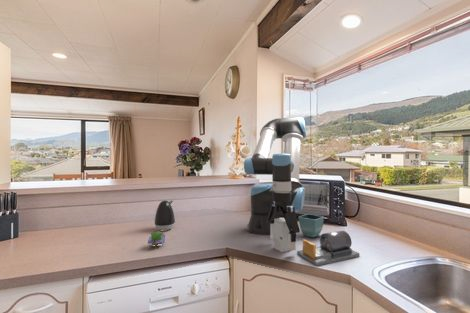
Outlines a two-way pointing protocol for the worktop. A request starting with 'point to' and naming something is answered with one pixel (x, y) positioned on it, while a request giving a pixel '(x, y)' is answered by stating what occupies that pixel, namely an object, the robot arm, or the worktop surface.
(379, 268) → the worktop surface
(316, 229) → the flower pot
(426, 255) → the worktop surface
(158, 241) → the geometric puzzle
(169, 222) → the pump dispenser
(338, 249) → the motor
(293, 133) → the robot arm
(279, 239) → the skincare box
